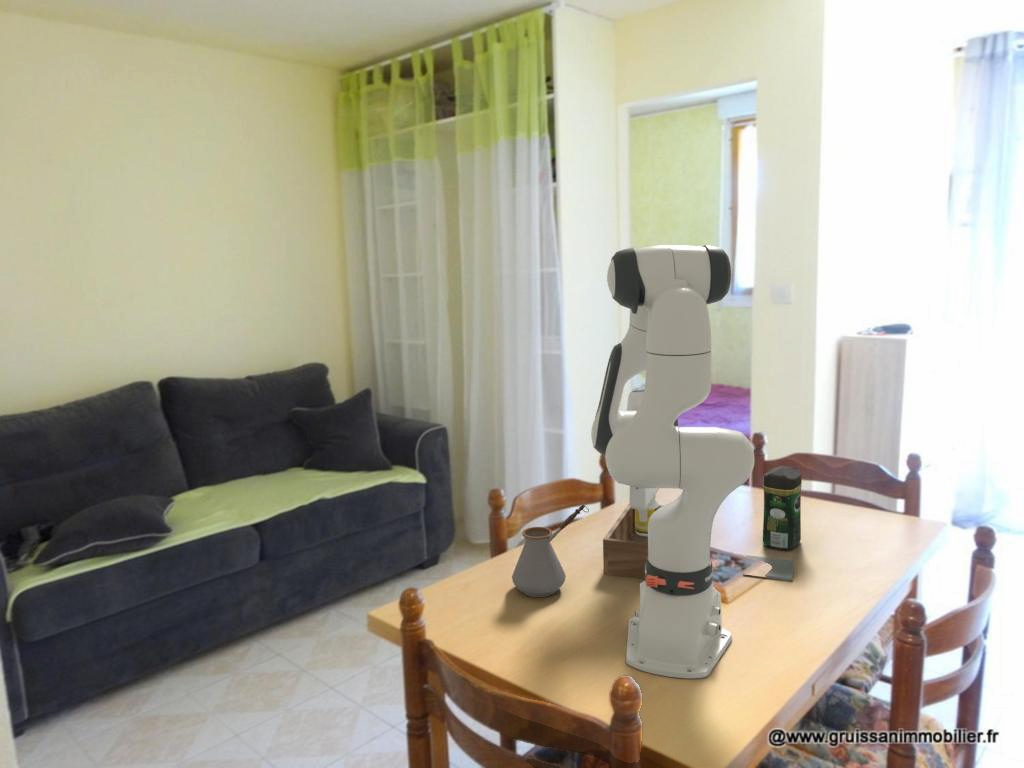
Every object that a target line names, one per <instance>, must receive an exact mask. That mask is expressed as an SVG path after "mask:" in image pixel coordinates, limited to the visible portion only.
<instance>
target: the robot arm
mask: <svg viewBox="0 0 1024 768" xmlns="http://www.w3.org/2000/svg"><path fill="white" fill-rule="evenodd" d="M606 275H607V276H606V282H607V286H608V289H609V292H610V294H611V297H612V299H613V300H614V301H615V303H617V304H618V305H619V306H622V307H624V308H627V309H630V310H629V324H628V329H627V332H626V333H625V335H624V338H623V339H622V340H621V341H620V342H618V343H617V344H615V345H614V346H613V348H612V349H611V352H610V355H609V358H608V361H607V364H606V365H607V366H606V370H605V373H604V378H603V384H602V388H601V393H600V399H599V403H598V406H597V409H596V412H595V413H596V414H595V417H594V420H593V423H592V426H591V435H590V436H591V442H592V446H593V448H594V449H595V450H596V451H597V452H598V453H599V454H601V456H603V457H605V465H606V468H607V470H608V473H609V474H610V476H611V477H612V479H613V480H614V481H615V482H616V483H617V484H619V485H620V484H622V485H626V486H629V502H628V504H629V503H630V507H631V508H632V509H638V512H639V520H640V521H641V522H647V520H648V513H647V507H648V505H649V503H650V502H651V500H652V499H653V496H654V493H656V494H657V493H658V491H659V490H660V489H679V490H682V491H681V493H680V495H679V496H678V497H677V498H676V499H674V500H673V501H670V502H668V503H666V504H664V506H662V507H660V508H659V509H657V510H656V511H655V512H654V513H653V514H652V515H651V517H650V519H649V522H648V536H647V543H648V556H647V558H646V564H645V579H644V580H643V581H642V582H640V583H639V602H640V603H639V604H640V605H639V609H635V611H634V615H635V616H633V617H630V618H629V619H628V624H627V626H628V627H627V640H626V654H625V663H626V664H628V665H629V666H630V667H632V668H635V669H637V670H640V671H642V672H645V673H649V674H654V675H659V676H664V677H671V678H676V679H702V678H707V677H708V676H709V675H710V673H712V671H713V669H714V668H715V666H716V665H717V663H718V661H719V660H720V658H721V657H722V655H723V654H724V653H725V651H726V649H728V646H730V644H731V643H732V641H733V638H732V636H733V635H732V633H731V632H730V631H729V630H727V629H725V628H723V621H722V620H723V619H722V618H723V617H722V594H721V592H719V591H718V590H717V589H716V587H714V585H713V578H714V576H713V575H714V567H713V561H712V559H711V538H712V532H713V531H712V530H713V529H712V528H713V523H714V519H715V516H716V514H717V511H718V510H719V509H720V506H721V505H722V504H723V502H724V501H725V500H726V498H728V496H729V495H730V494H731V493H732V492H734V491H735V490H737V489H738V488H739V487H741V486H743V484H745V483H746V482H747V480H748V479H749V478H750V477H751V474H752V473H753V470H754V467H755V452H754V448H753V446H752V444H751V441H750V440H749V439H748V437H747V436H746V435H745V434H744V433H743V432H742V431H739V430H734V429H730V428H729V429H728V428H723V427H717V426H679V419H678V417H680V416H681V415H682V414H684V413H686V412H688V411H689V410H691V409H694V408H696V407H698V406H699V405H700V404H702V403H703V402H704V401H706V400H707V398H708V397H709V395H710V393H711V389H712V332H711V321H710V315H709V309H708V305H711V304H715V303H717V302H719V301H722V300H723V299H724V298H725V297H726V296H727V294H728V293H729V291H730V286H731V282H732V276H733V271H732V265H731V261H730V259H729V255H728V253H726V251H725V250H724V249H723V248H722V247H718V246H715V245H705V244H704V245H703V246H695V245H670V244H661V245H651V246H645V247H640V248H634V247H628V248H624V249H621V250H619V251H616V252H615V253H614V254H613V256H612V257H611V260H610V263H609V265H608V267H607V274H606ZM644 372H645V382H644V383H645V384H644V389H635V390H632V391H630V392H629V393H628V398H627V405H626V410H620V405H621V400H622V396H623V393H624V388H625V386H626V384H627V383H628V382H629V380H631V379H632V378H634V377H635V376H637V375H639V374H641V373H644ZM654 500H655V501H656V498H655V499H654Z"/></svg>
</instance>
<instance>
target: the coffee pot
mask: <svg viewBox="0 0 1024 768" xmlns="http://www.w3.org/2000/svg"><path fill="white" fill-rule="evenodd" d="M584 509H586V510H587V511H585V510H584ZM581 511H583V512H584V513H589V512H590V510H589V508H588V507H587V506H586V505H585V504H582V505H580V506H579V507H578V508H576V509H575V510H574V512H573V513H571V514H570V515H569V516H568V517H567V518H566V519H565V520H564V521H563V522H562V523H561V525H560V526H559V527H558V528H557V529H556V530H555V531H554V532H553V530H552V529H550V528H549V527H544V526H531V527H528V528H525V529H524V530H523V531H522V532H521V534H522V535H521V536H523V538H524V541H525V543H524V545H523V547H522V550H521V552H520V555H519V557H518V560H517V562H516V565H515V568H514V571H513V573H512V576H511V579H512V583H513V584H514V586H515V587H516V588H517V589H518V590H519V591H520V592H521V593H522V594H524V595H526V596H528V597H532V598H543V597H549V596H552V595H554V594H556V592H557V591H558V590H559V589H560V588H561V587H562V586H563V585H564V583H565V581H566V572H565V570H564V569H563V566H562V564H561V561H559V558H558V556H557V554H556V552H555V549H554V547H553V545H552V544H551V542H552V541H553V539H554V538H556V536H557V535H558V534H559V533H561V531H563V530H564V529H565V528H566V527H567V526H569V524H571V523H572V522H573V521H574V520H575V518H576V517H577V516H578V515H581Z"/></svg>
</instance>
